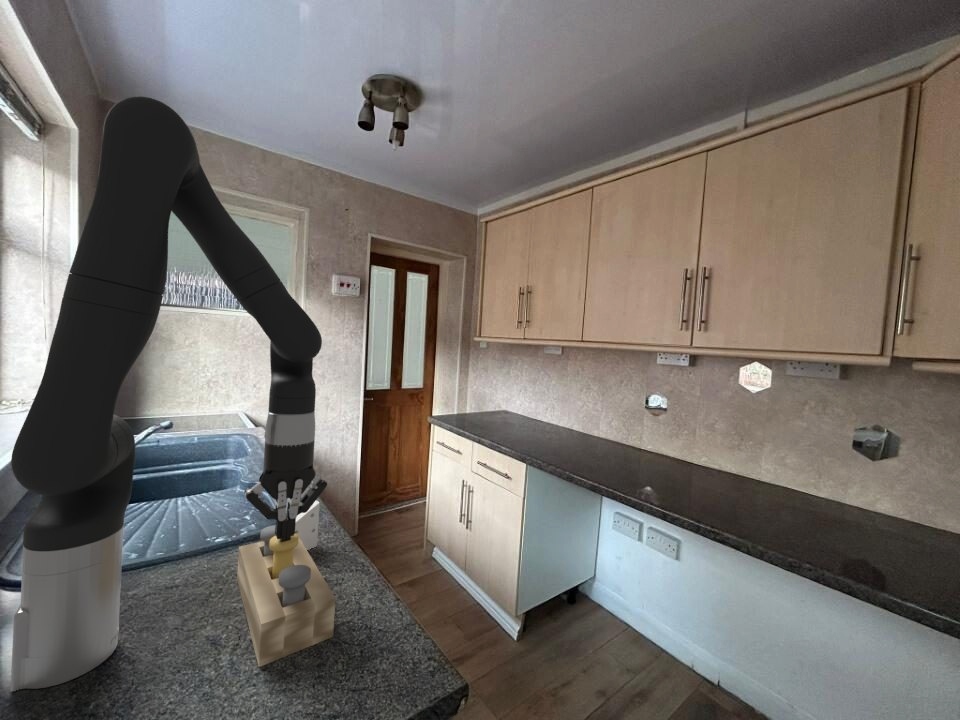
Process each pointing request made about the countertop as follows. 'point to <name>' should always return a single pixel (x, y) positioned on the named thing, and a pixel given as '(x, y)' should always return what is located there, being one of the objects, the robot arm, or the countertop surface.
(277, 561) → the ochre plug
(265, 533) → the grey plug far
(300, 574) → the grey plug near
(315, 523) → the white wedge bracket
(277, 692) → the countertop surface
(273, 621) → the block
